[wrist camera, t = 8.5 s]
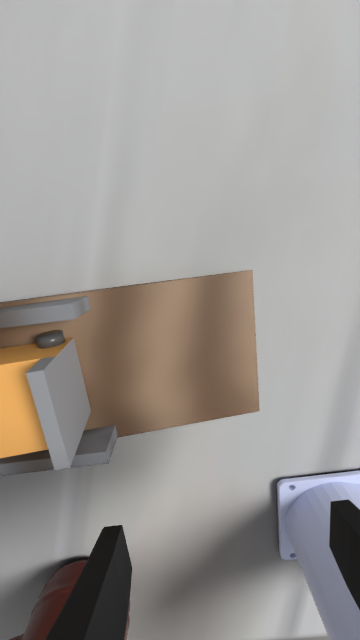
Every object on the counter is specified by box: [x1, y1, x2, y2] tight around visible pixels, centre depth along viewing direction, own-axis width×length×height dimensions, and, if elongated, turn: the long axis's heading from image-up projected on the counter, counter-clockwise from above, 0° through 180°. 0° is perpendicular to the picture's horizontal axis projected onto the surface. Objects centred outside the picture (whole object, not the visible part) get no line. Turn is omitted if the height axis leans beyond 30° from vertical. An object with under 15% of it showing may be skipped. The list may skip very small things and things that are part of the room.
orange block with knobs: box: [0, 330, 91, 470], centre depth 14 cm, size 6×6×5 cm
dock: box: [0, 270, 259, 476], centre depth 16 cm, size 19×10×5 cm, turn 97°
